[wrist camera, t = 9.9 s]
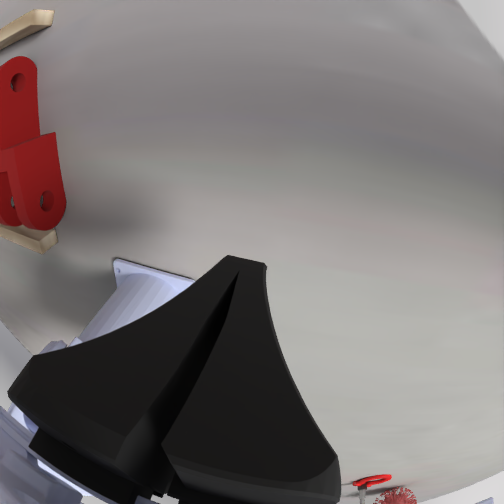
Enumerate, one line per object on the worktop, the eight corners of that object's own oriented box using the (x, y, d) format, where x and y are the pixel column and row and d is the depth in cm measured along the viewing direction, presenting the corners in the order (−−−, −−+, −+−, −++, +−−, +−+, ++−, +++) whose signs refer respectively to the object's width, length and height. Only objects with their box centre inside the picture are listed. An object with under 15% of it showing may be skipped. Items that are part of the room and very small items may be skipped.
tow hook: (379, 471, 45) (350, 481, 50) (379, 517, 34) (348, 523, 38) (397, 473, 46) (369, 483, 51) (398, 515, 35) (368, 522, 40)
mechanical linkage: (71, 215, 22) (35, 241, 18) (31, 212, 23) (-1, 234, 19) (55, 46, 14) (10, 49, 10) (13, 69, 15) (-25, 77, 11)
